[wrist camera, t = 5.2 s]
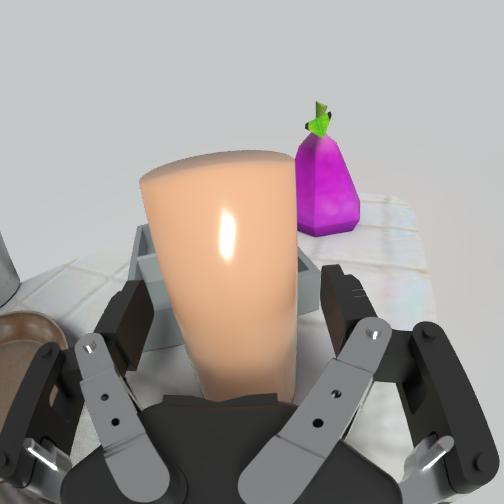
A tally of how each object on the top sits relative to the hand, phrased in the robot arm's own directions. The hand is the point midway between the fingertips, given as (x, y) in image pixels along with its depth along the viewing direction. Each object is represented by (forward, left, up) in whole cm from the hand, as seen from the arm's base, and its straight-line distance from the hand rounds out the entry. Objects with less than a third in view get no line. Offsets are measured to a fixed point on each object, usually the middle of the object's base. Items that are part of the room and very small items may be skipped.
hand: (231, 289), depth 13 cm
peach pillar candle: (0, 0, -8) cm, 8 cm away
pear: (+15, +20, -8) cm, 26 cm away
